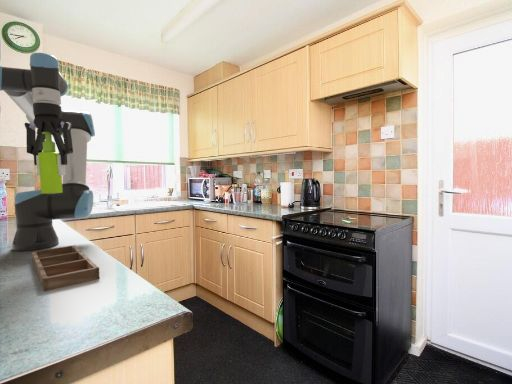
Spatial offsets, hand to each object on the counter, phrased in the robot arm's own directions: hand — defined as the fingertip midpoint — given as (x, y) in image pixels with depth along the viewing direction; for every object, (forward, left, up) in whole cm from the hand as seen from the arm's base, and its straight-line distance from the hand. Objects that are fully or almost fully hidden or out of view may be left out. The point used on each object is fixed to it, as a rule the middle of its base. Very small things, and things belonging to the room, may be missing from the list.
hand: (51, 175), depth 96 cm
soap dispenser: (0, 0, -6) cm, 6 cm away
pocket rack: (+9, +7, -29) cm, 31 cm away
